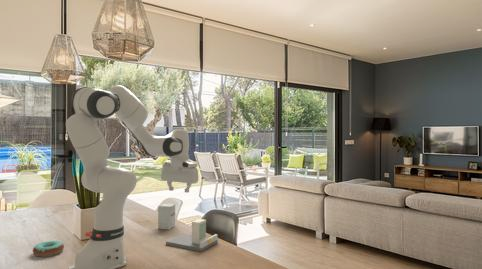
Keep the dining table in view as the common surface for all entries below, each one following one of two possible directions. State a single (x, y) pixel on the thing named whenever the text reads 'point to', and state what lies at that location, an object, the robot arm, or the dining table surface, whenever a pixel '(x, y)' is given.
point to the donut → (48, 248)
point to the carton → (198, 231)
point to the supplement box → (166, 216)
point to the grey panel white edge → (186, 242)
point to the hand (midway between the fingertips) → (178, 191)
